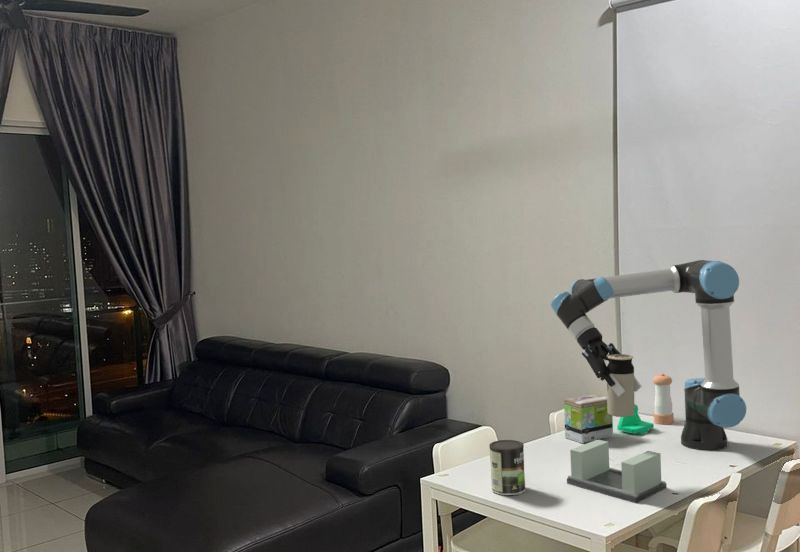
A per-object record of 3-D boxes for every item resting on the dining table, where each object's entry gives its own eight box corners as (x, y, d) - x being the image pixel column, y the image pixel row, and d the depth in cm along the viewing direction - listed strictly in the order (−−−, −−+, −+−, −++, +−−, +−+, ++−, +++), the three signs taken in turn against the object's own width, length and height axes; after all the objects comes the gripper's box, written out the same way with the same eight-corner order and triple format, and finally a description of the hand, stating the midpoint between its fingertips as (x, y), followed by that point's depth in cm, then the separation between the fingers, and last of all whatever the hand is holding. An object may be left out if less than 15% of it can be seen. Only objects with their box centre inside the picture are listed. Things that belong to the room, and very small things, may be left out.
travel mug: (637, 412, 227) (637, 355, 226) (630, 418, 221) (629, 359, 220) (612, 409, 232) (611, 353, 231) (604, 415, 225) (603, 357, 224)
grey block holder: (571, 478, 226) (570, 449, 225) (598, 467, 235) (597, 439, 234) (634, 496, 209) (633, 465, 208) (661, 483, 218) (660, 453, 217)
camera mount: (634, 436, 271) (633, 409, 270) (617, 432, 277) (616, 405, 276) (654, 430, 277) (654, 403, 277) (638, 426, 284) (637, 400, 283)
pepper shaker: (671, 425, 282) (670, 375, 281) (652, 423, 286) (650, 374, 284) (675, 420, 288) (673, 372, 287) (656, 418, 292) (654, 371, 291)
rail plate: (567, 483, 226) (566, 476, 226) (598, 470, 236) (597, 463, 236) (636, 503, 208) (635, 495, 207) (666, 488, 218) (666, 481, 218)
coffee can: (530, 486, 225) (528, 441, 224) (517, 498, 216) (515, 451, 215) (500, 482, 231) (497, 438, 230) (485, 493, 222) (483, 447, 221)
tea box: (582, 444, 264) (581, 403, 263) (564, 438, 273) (562, 398, 272) (614, 436, 271) (612, 397, 270) (595, 431, 280) (593, 392, 279)
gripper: (599, 337, 243) (642, 392, 232) (558, 345, 230) (602, 404, 219) (612, 322, 239) (657, 378, 227) (571, 330, 226) (616, 389, 214)
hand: (630, 391), depth 223 cm, fingers closed on travel mug, 8 cm apart
